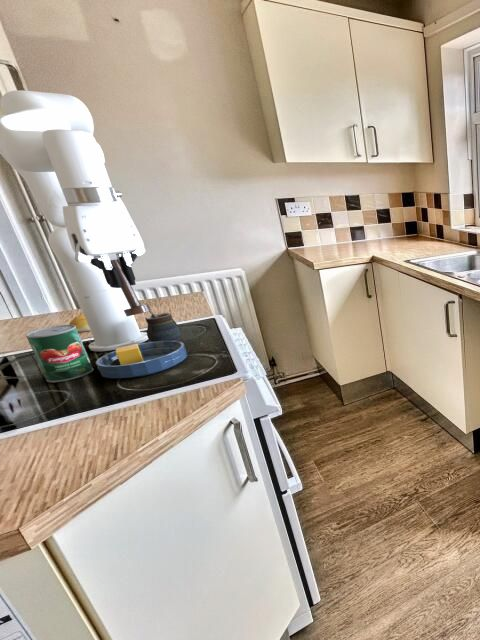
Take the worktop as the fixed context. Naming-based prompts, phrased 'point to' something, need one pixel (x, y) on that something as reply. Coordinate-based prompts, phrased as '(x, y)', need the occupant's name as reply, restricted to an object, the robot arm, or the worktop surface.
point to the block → (129, 354)
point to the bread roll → (80, 323)
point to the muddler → (129, 292)
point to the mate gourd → (162, 327)
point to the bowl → (144, 360)
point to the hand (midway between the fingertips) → (123, 285)
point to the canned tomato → (60, 353)
